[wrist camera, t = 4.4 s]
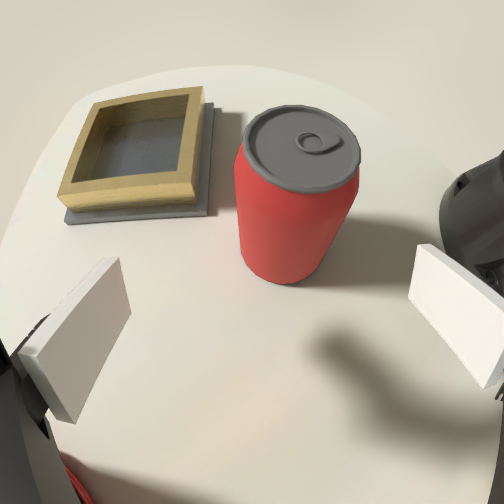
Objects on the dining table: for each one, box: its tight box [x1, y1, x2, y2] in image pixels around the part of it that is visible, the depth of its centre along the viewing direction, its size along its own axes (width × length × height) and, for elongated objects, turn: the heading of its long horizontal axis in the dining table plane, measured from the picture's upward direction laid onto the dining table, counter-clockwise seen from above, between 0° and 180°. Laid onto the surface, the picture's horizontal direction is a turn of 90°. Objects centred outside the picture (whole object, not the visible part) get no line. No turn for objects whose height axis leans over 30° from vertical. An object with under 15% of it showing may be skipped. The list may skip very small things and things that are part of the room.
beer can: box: [233, 105, 361, 284], centre depth 18 cm, size 7×7×12 cm
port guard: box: [57, 86, 214, 225], centre depth 26 cm, size 14×14×4 cm
